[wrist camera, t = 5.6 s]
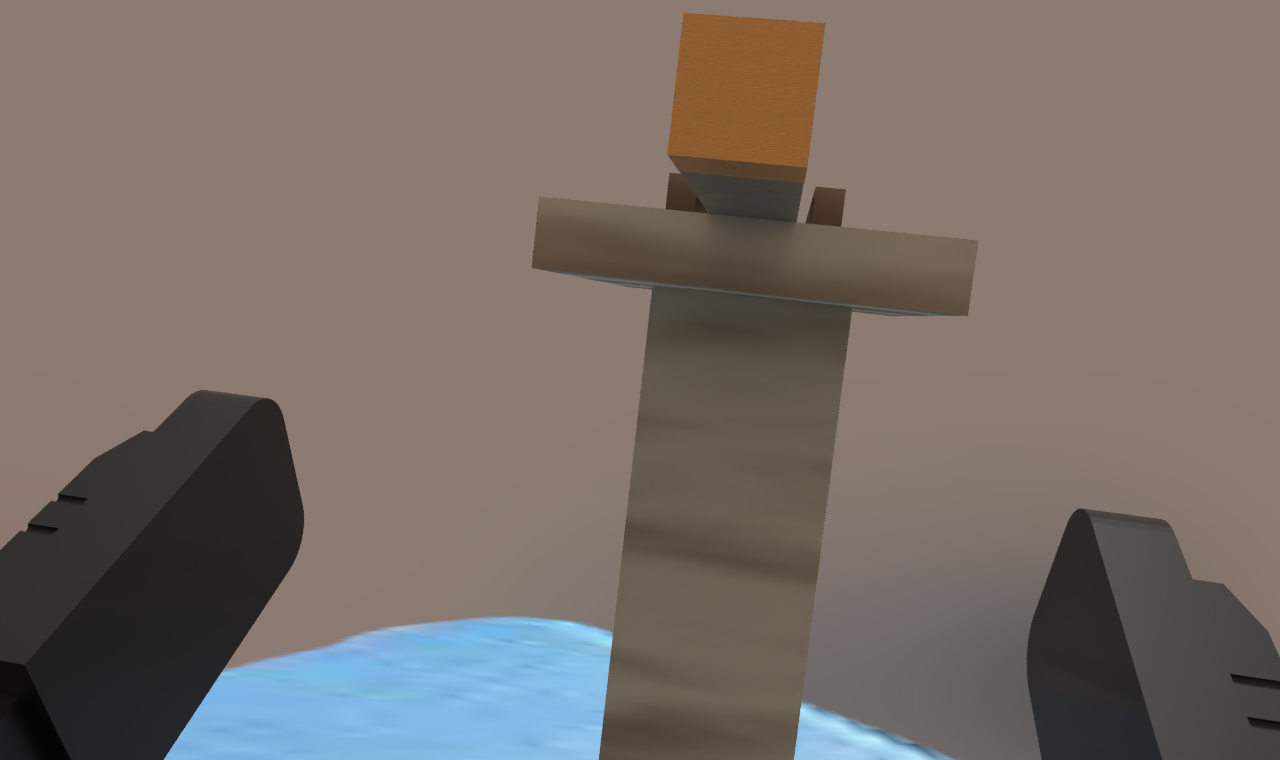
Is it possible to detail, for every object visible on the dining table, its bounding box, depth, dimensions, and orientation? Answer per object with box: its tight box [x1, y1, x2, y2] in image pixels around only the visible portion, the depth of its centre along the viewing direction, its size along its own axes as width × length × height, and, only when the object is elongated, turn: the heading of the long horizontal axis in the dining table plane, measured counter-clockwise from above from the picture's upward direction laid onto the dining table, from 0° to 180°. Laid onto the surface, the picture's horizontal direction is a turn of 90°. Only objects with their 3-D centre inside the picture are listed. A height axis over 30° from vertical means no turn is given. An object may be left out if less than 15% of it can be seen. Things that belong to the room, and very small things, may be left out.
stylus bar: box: [668, 13, 825, 222], centre depth 30 cm, size 26×2×2 cm, turn 172°
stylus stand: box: [532, 173, 978, 760], centre depth 37 cm, size 18×14×34 cm
